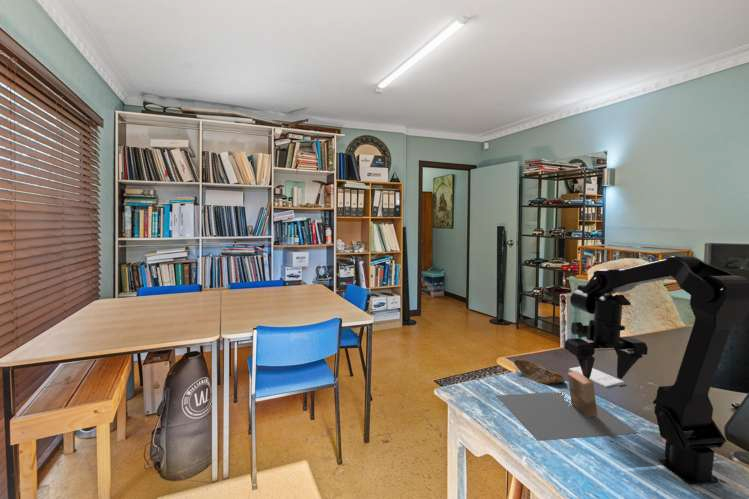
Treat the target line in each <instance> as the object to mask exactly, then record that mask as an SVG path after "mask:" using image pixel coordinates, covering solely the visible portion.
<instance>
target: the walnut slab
mask: <svg viewBox="0 0 749 499" xmlns="http://www.w3.org/2000/svg"><path fill="white" fill-rule="evenodd" d="M567 381H568V388H569V391H570V396H571V404H572V406H574V407H575V408H576V409H577V410H579V411H580V412H581V413H583V414H584V415H585V416H586V417H588V418H589V417H593V416H597V408H596V403H597V402H596V394H595V385H594V382H593V381H592V380H590V379H589V378H587V377H585V376H584V375H582V374H580V373H579V372H577V371H573V372H567Z"/></svg>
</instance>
